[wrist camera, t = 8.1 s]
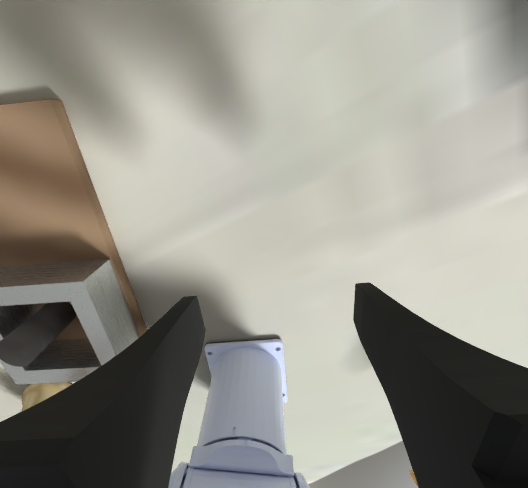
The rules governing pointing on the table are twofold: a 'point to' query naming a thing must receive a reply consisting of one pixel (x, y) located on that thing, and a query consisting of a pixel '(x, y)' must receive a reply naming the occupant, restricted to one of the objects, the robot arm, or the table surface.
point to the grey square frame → (85, 305)
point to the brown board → (49, 218)
